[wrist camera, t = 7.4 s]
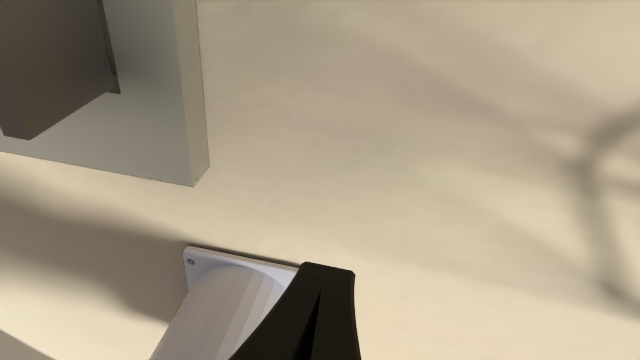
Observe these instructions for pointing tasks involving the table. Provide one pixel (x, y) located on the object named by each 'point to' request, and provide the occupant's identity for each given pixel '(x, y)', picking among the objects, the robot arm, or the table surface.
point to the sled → (49, 62)
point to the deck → (138, 101)
